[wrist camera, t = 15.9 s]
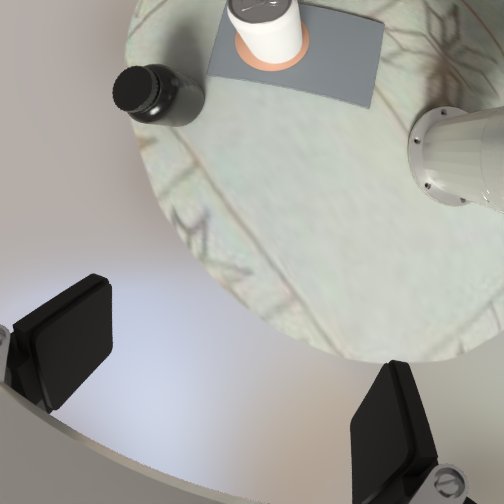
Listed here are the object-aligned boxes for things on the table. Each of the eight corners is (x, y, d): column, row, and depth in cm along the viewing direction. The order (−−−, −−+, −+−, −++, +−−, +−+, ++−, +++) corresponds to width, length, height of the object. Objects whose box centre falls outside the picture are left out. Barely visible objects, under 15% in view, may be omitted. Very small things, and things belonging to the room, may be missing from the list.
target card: (383, 26, 29) (384, 23, 28) (368, 108, 33) (369, 107, 32) (229, -2, 31) (227, -5, 30) (208, 75, 35) (205, 74, 34)
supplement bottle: (158, 80, 36) (106, 61, 25) (206, 75, 35) (165, 49, 24) (156, 129, 38) (102, 124, 27) (204, 126, 37) (161, 117, 26)
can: (308, 59, 31) (305, 20, 20) (254, 69, 33) (229, 35, 22) (295, 15, 30) (287, -35, 18) (244, 26, 31) (216, -19, 20)
